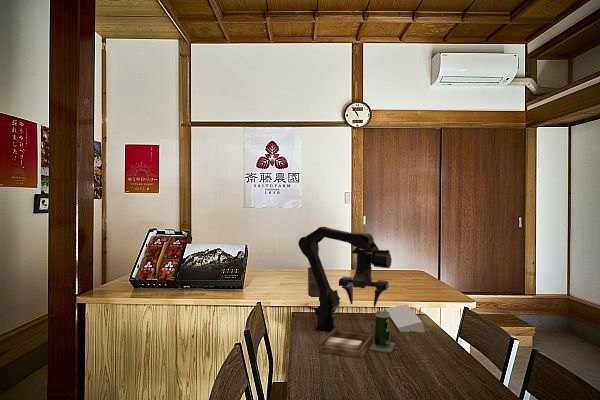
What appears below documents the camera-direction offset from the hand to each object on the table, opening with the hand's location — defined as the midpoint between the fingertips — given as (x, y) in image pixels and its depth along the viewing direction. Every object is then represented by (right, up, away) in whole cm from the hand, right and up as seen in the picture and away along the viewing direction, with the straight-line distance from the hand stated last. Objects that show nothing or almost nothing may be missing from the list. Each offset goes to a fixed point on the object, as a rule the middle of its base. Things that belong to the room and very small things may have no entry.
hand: (363, 305), depth 175 cm
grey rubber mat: (+5, -12, -13) cm, 19 cm away
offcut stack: (-9, -12, -17) cm, 23 cm away
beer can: (+5, -12, -13) cm, 18 cm away
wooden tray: (-7, -12, -13) cm, 19 cm away
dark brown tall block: (-17, -11, +42) cm, 46 cm away
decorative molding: (+20, -13, +22) cm, 33 cm away
